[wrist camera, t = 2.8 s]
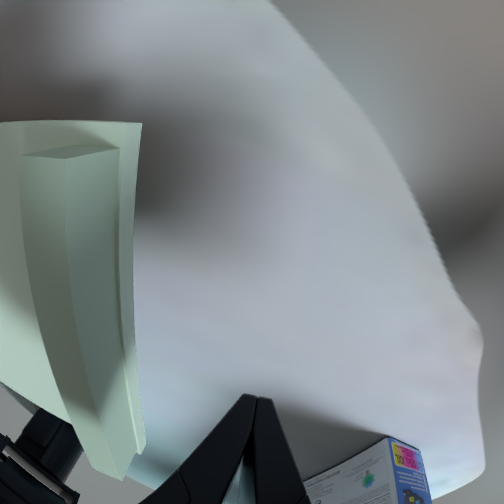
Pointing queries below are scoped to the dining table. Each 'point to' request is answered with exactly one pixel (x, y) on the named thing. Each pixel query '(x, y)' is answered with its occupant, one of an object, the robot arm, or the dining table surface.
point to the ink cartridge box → (374, 478)
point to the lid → (72, 279)
